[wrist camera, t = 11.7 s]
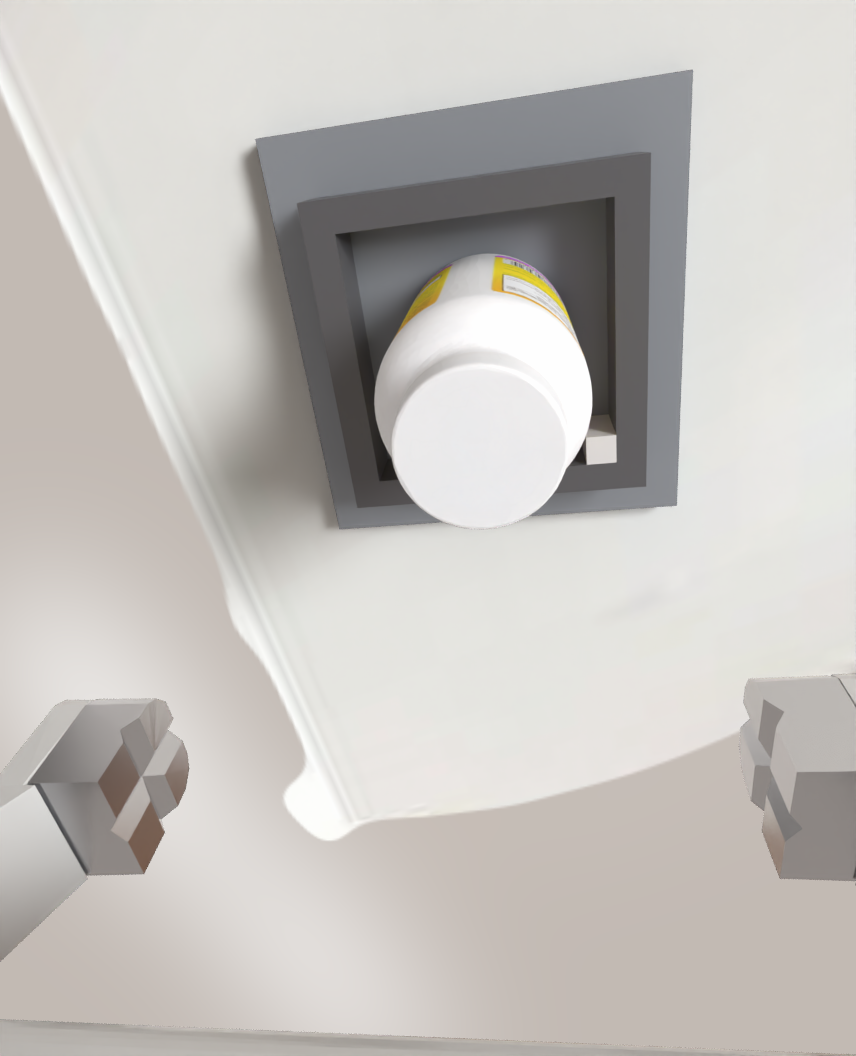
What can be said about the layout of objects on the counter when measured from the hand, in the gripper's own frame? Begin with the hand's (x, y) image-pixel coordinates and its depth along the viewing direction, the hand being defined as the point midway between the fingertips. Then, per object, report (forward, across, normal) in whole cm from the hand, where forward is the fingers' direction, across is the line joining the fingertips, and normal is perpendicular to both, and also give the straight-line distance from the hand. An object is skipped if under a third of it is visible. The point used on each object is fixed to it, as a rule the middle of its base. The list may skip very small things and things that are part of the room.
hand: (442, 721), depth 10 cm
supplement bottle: (+23, 0, 0) cm, 23 cm away
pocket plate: (+24, 0, 0) cm, 24 cm away
